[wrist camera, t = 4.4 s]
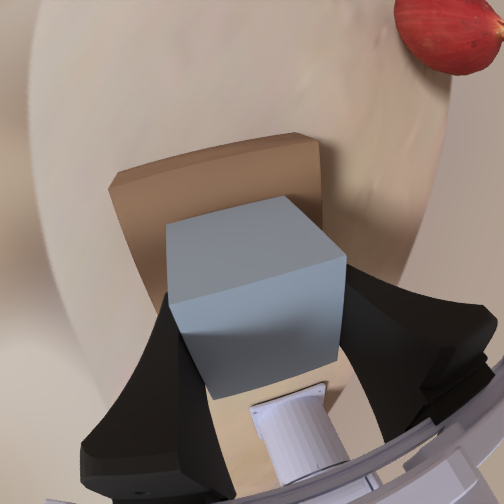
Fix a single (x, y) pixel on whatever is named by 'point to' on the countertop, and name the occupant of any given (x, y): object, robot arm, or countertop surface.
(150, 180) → the base
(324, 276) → the cube
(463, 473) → the robot arm
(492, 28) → the onion
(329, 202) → the countertop surface
